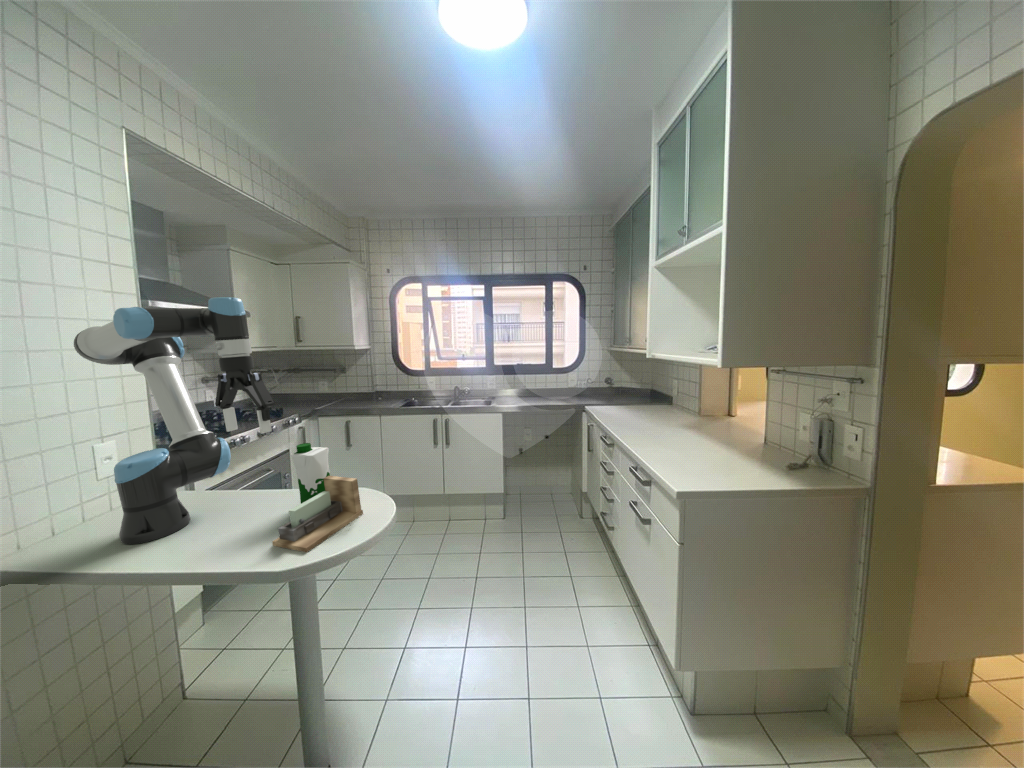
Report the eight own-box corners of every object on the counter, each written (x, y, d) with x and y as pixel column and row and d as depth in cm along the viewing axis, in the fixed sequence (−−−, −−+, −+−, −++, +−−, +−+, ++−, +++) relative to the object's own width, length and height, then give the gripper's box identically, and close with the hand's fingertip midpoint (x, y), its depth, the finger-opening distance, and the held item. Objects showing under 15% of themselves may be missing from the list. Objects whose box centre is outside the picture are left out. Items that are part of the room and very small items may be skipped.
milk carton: (315, 497, 126) (307, 440, 123) (339, 497, 124) (331, 440, 121) (296, 509, 118) (286, 449, 115) (321, 510, 116) (311, 449, 113)
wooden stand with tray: (273, 545, 98) (266, 506, 96) (332, 509, 117) (327, 475, 115) (307, 552, 94) (300, 511, 92) (363, 513, 112) (358, 478, 111)
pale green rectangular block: (292, 534, 101) (288, 510, 99) (327, 512, 112) (323, 491, 111) (300, 535, 100) (296, 511, 99) (334, 513, 111) (331, 491, 110)
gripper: (190, 358, 102) (205, 433, 105) (254, 355, 93) (268, 437, 96) (219, 355, 109) (232, 426, 112) (281, 353, 100) (293, 429, 103)
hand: (249, 431), depth 104 cm, fingers open, 13 cm apart
